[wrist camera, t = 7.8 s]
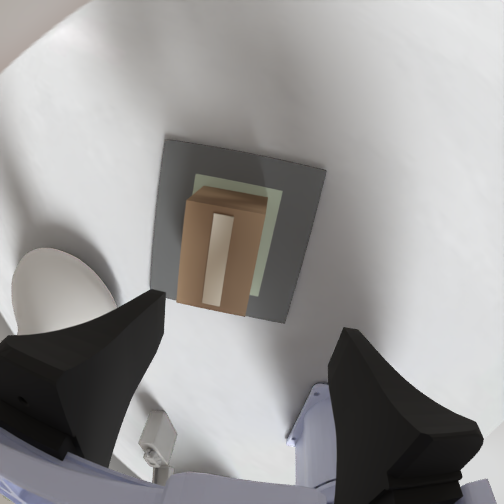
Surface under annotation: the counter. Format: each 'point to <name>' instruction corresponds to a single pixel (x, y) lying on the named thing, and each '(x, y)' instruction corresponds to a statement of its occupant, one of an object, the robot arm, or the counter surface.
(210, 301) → the cardboard box
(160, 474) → the lighter
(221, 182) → the mat
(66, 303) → the flower in vase
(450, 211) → the counter surface
